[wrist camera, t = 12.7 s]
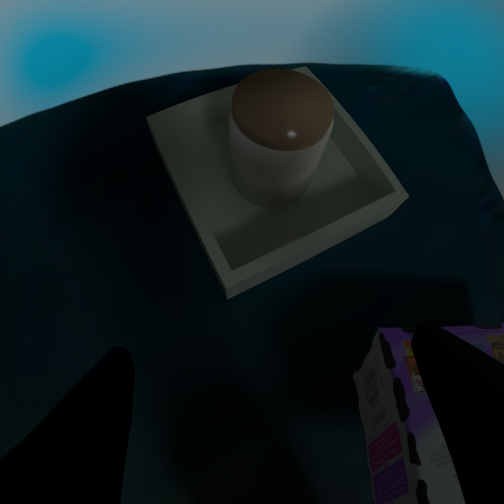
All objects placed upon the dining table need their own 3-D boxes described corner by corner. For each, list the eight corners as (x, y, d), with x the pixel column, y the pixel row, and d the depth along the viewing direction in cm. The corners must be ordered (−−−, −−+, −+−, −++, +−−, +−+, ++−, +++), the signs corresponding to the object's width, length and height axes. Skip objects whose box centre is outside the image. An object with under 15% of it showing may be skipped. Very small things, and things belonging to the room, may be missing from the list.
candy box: (349, 375, 22) (373, 589, 8) (377, 322, 18) (430, 592, 5) (481, 365, 22) (529, 520, 8) (515, 320, 19) (585, 489, 5)
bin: (387, 217, 25) (408, 196, 22) (227, 299, 23) (225, 288, 19) (299, 95, 29) (305, 66, 25) (155, 145, 27) (145, 117, 23)
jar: (317, 204, 24) (349, 142, 16) (234, 211, 24) (233, 147, 16) (302, 138, 26) (323, 67, 18) (228, 142, 26) (225, 68, 18)
